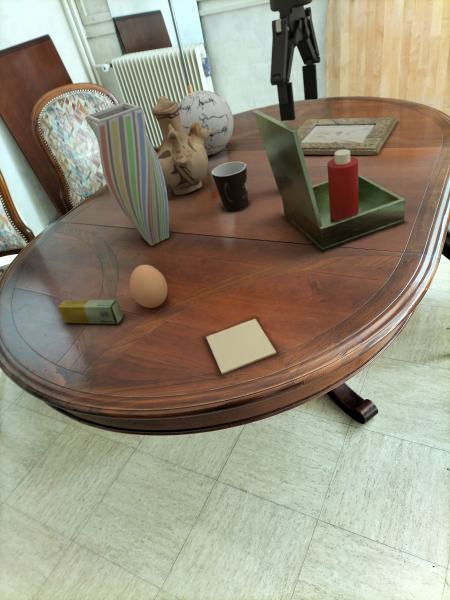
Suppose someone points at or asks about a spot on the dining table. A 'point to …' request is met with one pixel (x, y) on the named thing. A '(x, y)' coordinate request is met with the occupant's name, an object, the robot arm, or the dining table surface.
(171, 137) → the ceramic vessel
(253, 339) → the mat
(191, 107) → the decorative sphere
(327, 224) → the green square tray
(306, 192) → the lid
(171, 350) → the dining table surface
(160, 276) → the egg
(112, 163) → the vase
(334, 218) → the ketchup
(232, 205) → the coffee mug
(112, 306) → the medication box
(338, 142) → the picture frame
